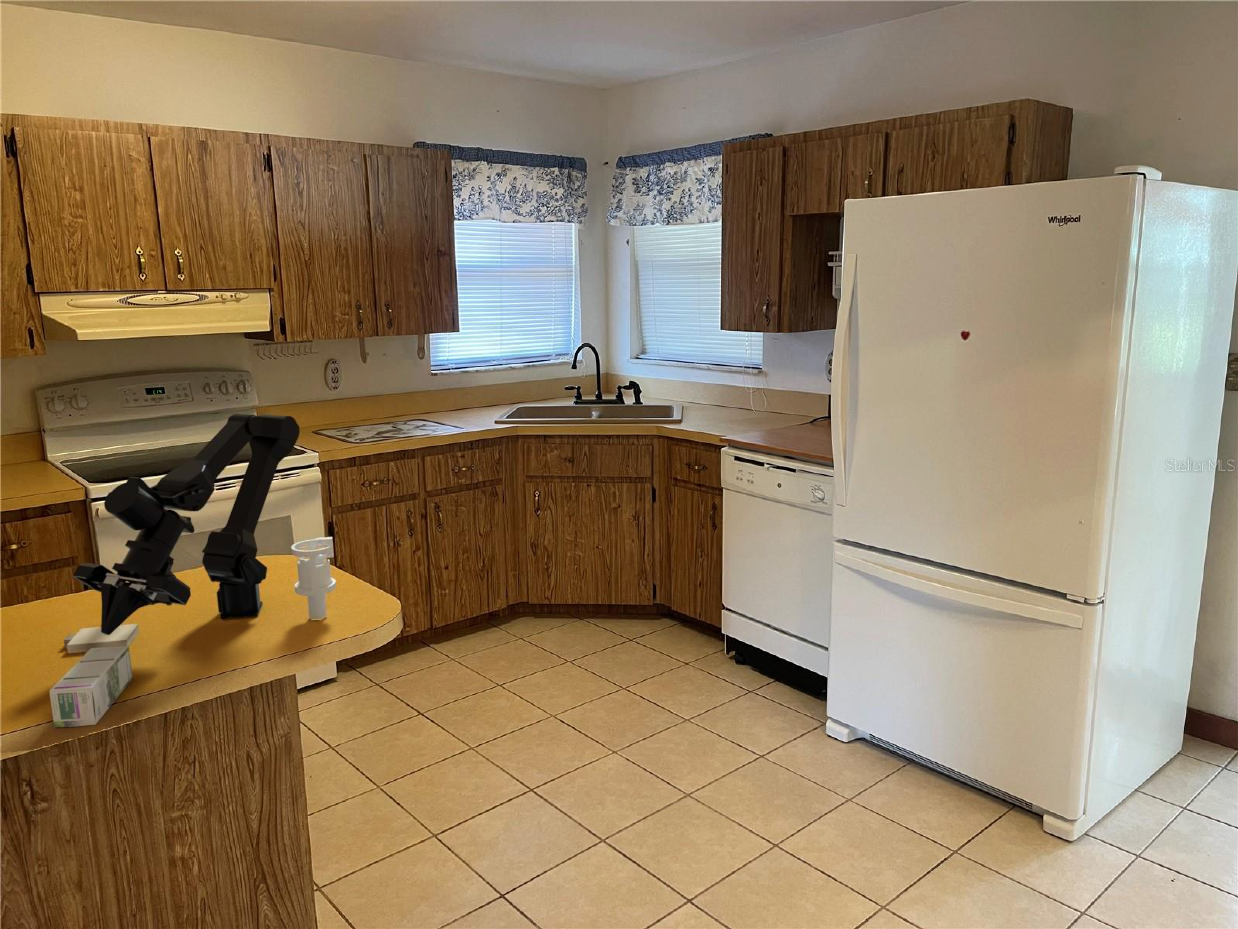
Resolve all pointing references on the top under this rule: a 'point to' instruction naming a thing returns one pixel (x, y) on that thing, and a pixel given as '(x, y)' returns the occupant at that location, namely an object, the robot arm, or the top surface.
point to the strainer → (314, 574)
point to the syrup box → (91, 686)
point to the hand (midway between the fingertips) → (105, 633)
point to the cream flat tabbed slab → (100, 638)
